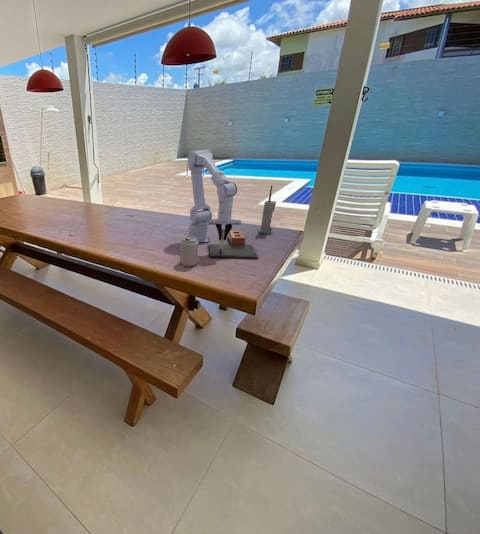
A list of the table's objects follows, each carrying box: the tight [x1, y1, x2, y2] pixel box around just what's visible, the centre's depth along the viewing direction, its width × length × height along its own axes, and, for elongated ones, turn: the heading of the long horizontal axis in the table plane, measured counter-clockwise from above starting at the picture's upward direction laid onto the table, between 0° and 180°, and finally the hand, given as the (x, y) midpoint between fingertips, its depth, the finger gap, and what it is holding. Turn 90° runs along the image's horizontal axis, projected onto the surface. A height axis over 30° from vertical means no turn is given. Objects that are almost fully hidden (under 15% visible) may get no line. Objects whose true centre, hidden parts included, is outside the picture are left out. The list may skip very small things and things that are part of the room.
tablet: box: [208, 243, 259, 260], centre depth 143 cm, size 20×14×1 cm
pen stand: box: [228, 230, 246, 245], centre depth 154 cm, size 6×11×4 cm, turn 169°
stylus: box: [219, 228, 225, 250], centre depth 142 cm, size 2×2×10 cm
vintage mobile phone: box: [259, 184, 277, 235], centre depth 159 cm, size 4×5×25 cm
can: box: [179, 235, 200, 267], centre depth 132 cm, size 8×8×12 cm
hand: (222, 239), depth 142 cm, fingers closed on stylus, 2 cm apart
